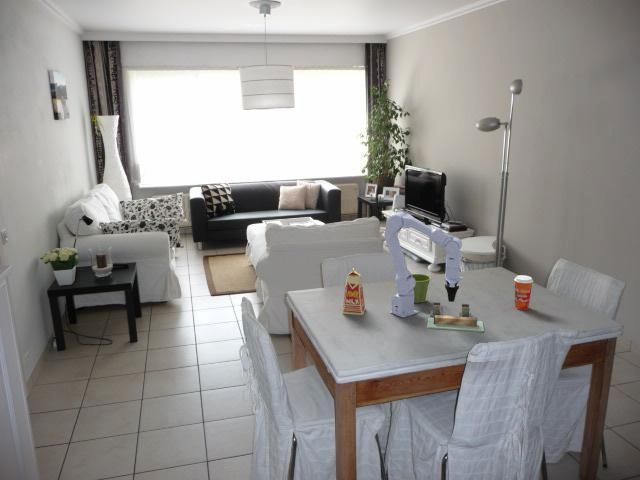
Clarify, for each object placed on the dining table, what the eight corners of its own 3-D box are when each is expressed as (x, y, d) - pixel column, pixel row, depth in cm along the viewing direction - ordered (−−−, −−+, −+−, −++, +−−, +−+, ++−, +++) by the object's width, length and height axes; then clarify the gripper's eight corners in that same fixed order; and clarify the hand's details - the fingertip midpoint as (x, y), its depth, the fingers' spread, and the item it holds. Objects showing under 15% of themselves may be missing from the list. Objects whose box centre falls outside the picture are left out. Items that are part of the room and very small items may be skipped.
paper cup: (511, 309, 233) (513, 278, 229) (513, 303, 239) (515, 274, 236) (530, 312, 229) (532, 281, 226) (532, 306, 236) (534, 276, 232)
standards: (430, 316, 227) (430, 305, 226) (430, 312, 231) (430, 301, 230) (471, 319, 223) (472, 308, 222) (470, 314, 228) (471, 304, 226)
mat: (427, 328, 215) (427, 326, 214) (427, 319, 224) (428, 317, 224) (483, 332, 210) (483, 330, 210) (482, 322, 219) (482, 321, 219)
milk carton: (362, 315, 230) (362, 271, 225) (341, 314, 232) (341, 270, 227) (365, 307, 238) (365, 265, 234) (345, 306, 240) (344, 264, 236)
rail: (433, 323, 217) (433, 317, 217) (433, 321, 220) (433, 314, 219) (476, 326, 213) (477, 320, 213) (476, 324, 216) (476, 317, 215)
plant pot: (428, 296, 251) (429, 273, 248) (431, 305, 240) (432, 281, 237) (403, 296, 252) (404, 273, 250) (405, 304, 241) (405, 281, 238)
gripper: (463, 272, 210) (461, 305, 213) (462, 262, 224) (461, 293, 227) (444, 271, 212) (443, 303, 215) (445, 261, 225) (444, 292, 229)
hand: (451, 298), depth 221 cm, fingers open, 7 cm apart
